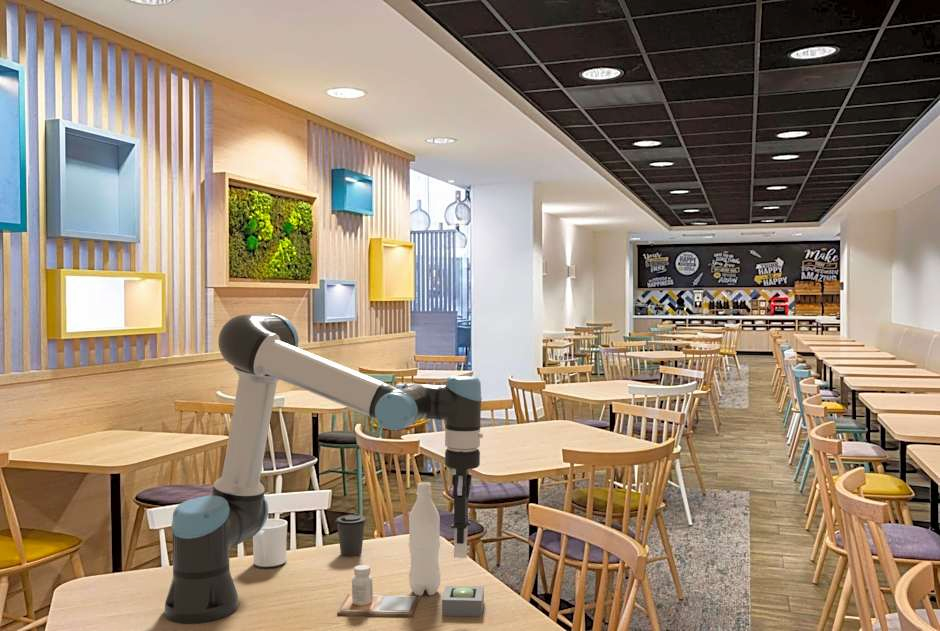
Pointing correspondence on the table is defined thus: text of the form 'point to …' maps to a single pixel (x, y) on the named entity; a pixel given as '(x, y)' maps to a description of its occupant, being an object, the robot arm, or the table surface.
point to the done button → (463, 593)
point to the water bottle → (424, 543)
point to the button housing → (463, 602)
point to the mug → (270, 544)
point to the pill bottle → (362, 586)
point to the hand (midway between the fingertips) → (460, 556)
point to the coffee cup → (350, 534)
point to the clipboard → (381, 606)
